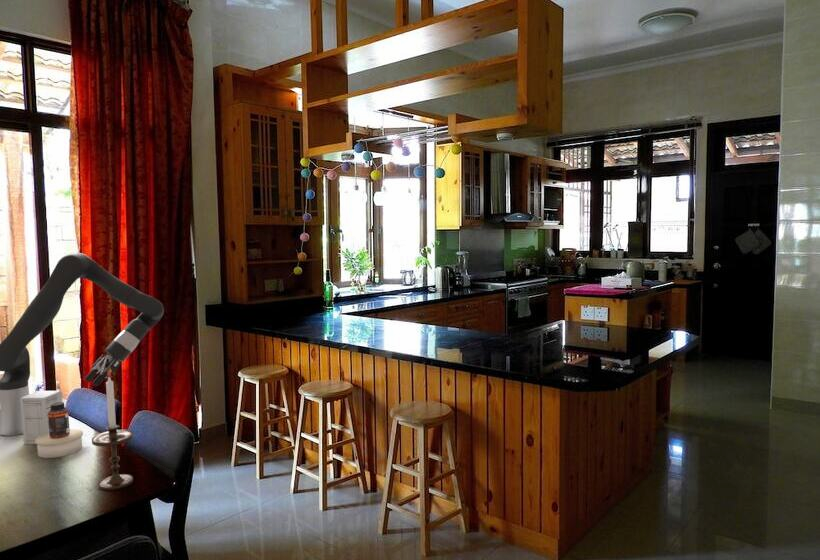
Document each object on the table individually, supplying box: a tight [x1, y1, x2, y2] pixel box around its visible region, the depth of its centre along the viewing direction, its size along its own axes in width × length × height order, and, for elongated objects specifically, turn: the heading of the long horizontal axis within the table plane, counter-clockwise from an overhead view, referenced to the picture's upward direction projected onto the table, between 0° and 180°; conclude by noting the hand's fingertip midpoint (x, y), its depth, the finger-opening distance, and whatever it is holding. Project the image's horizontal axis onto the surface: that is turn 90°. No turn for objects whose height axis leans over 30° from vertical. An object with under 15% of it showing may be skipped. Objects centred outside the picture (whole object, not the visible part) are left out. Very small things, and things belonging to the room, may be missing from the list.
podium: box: [35, 428, 84, 459], centre depth 196 cm, size 14×14×5 cm
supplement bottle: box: [48, 401, 71, 438], centre depth 196 cm, size 6×6×11 cm
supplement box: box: [20, 390, 64, 445], centre depth 207 cm, size 10×9×17 cm
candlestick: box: [91, 367, 135, 492], centre depth 168 cm, size 11×11×35 cm
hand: (90, 383), depth 202 cm, fingers open, 8 cm apart
